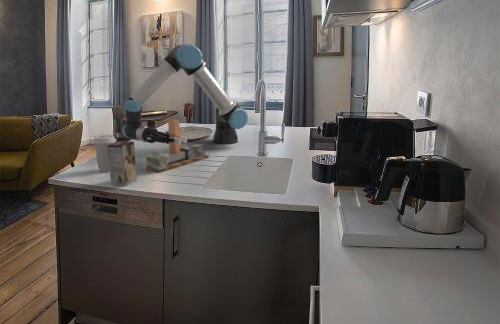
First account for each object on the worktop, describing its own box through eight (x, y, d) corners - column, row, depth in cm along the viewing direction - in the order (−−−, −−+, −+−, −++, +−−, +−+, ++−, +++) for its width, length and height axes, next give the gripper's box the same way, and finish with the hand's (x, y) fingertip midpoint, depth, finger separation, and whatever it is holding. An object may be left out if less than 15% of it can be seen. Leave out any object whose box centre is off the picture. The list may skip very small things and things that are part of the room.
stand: (195, 155, 194) (194, 142, 193) (208, 157, 190) (208, 144, 188) (145, 169, 168) (144, 154, 166) (159, 172, 163) (158, 157, 161)
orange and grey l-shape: (190, 153, 188) (190, 116, 183) (196, 155, 186) (196, 117, 181) (161, 162, 172) (159, 121, 167) (167, 163, 170) (165, 122, 165)
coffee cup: (108, 166, 172) (105, 133, 168) (123, 169, 167) (120, 136, 163) (90, 171, 164) (87, 137, 160) (105, 174, 159) (102, 140, 155)
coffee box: (122, 178, 155) (119, 140, 151) (137, 179, 154) (134, 141, 149) (110, 185, 146) (107, 145, 142) (125, 186, 145) (122, 146, 141)
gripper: (160, 139, 191) (195, 145, 178) (135, 144, 178) (170, 152, 165) (159, 124, 189) (194, 130, 176) (134, 129, 176) (170, 135, 163)
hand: (183, 140), depth 171 cm, fingers closed on orange and grey l-shape, 3 cm apart
